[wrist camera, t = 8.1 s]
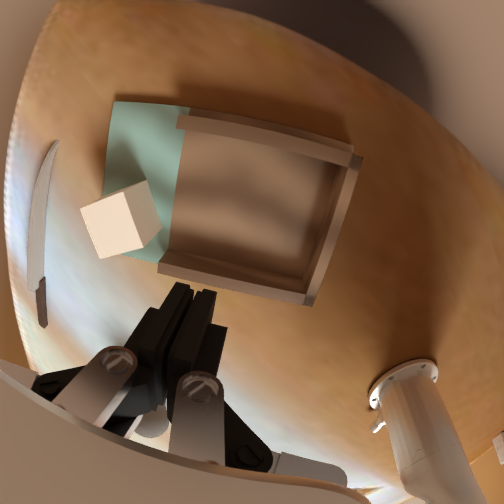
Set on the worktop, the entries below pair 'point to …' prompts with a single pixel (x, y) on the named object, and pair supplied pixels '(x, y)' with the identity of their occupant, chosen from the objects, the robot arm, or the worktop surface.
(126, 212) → the cream block
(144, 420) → the light bulb
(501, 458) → the skincare box
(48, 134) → the worktop surface
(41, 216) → the kitchen knife
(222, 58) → the worktop surface
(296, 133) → the walnut cubby
